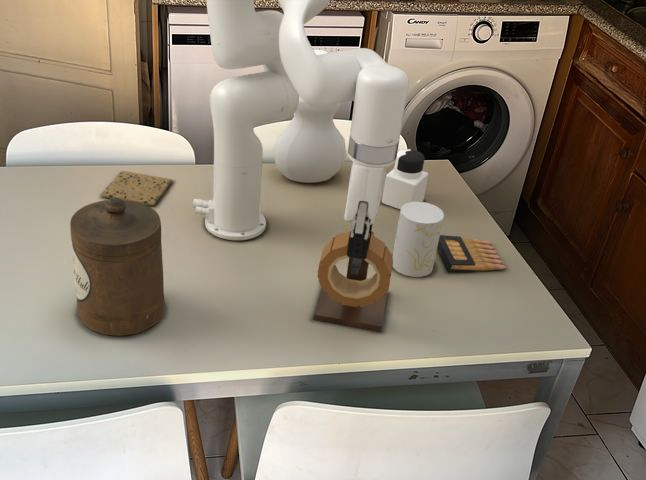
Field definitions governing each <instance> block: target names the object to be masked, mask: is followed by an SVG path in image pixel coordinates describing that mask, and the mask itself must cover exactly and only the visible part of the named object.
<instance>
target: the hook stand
mask: <svg viewBox="0 0 646 480" xmlns="http://www.w3.org/2000/svg"><path fill="white" fill-rule="evenodd" d="M372 234H373V235H374V236H375V232H374V231H371V235H372ZM347 262H348V263H347V269H346V276H345V277H346V278H348V279H351V280H357V281H362V280H366V279H368V272H369V266H370V264H369V263H368V262H367V261H365V260H364V259H358V258H352V257H348V261H347ZM326 293H327V292H326ZM326 293H324V291H323V289H322V287H321V288H320V292H319V296H318V300H317V302H316V306H315V310H314V313H313V321H318V322H324V323H329V324H335V325H341V326H346V327H352V328H356V329H357V328H358V329H363V330H368V331H375V332H379V333H381V332H382V327H383V322H384V315H385V308H386V305H387V298H388V293H389V290H388V291H387V293H386V294H384V295H383V296H382V297H381V298H380V299H379V300H378V301H375V303H373V304H369V305H366V306H362V307H360V306H359V304H358V307H353V306H348V305H342V304H341V303H342V301H341V302H340V303H338V302H336V301H335V300H333V299H332V298H330V297H329V296H328V295H326Z"/></svg>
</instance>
